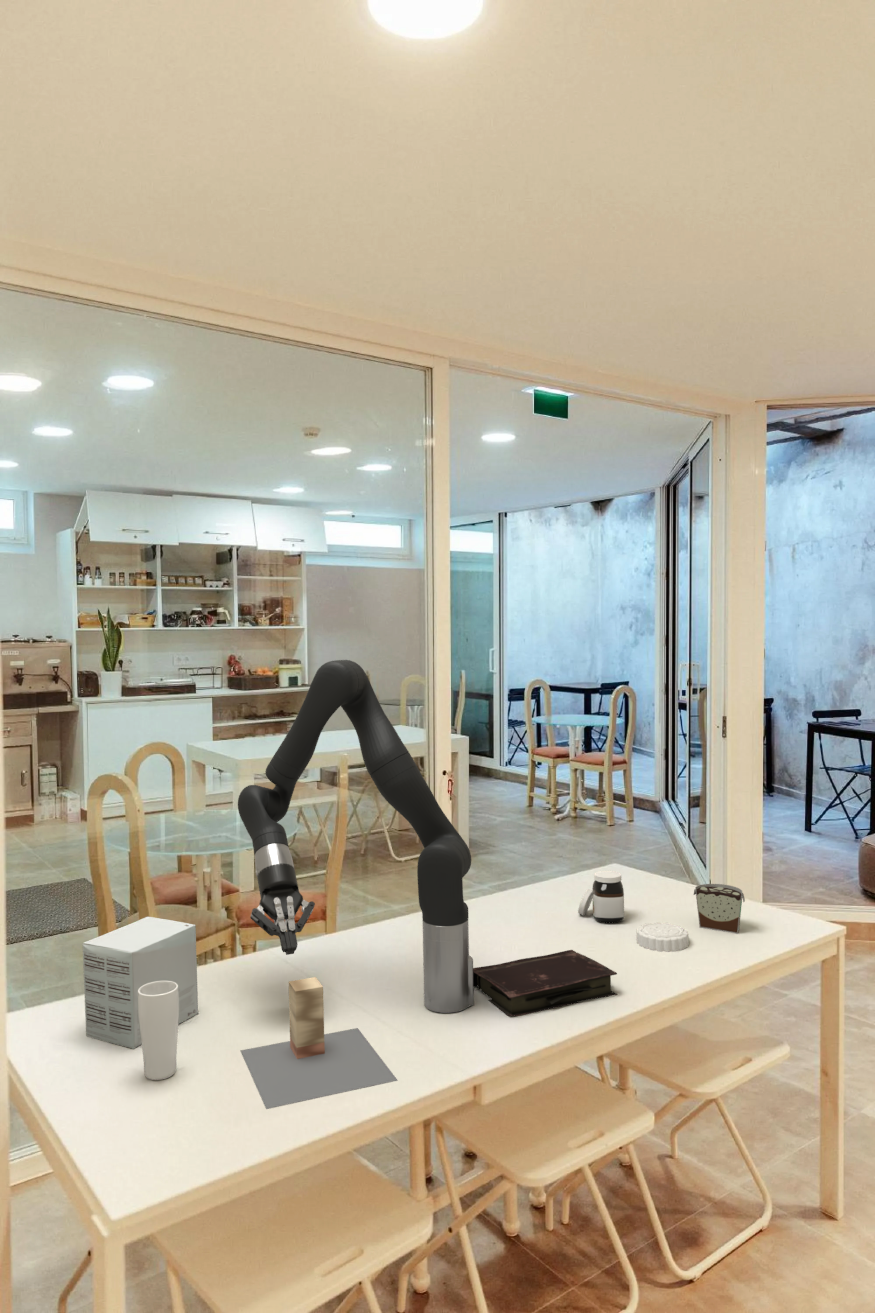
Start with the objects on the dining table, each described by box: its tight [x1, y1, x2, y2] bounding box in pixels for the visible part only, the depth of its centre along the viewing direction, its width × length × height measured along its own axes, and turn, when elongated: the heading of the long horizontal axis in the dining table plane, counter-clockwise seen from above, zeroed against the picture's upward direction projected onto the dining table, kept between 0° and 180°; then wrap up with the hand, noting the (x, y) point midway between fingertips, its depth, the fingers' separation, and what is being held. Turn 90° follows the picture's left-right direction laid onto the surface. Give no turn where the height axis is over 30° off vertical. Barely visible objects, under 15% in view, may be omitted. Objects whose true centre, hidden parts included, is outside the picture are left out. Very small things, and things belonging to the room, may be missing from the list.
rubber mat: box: [240, 1027, 398, 1110], centre depth 160 cm, size 22×22×1 cm
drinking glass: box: [138, 981, 179, 1081], centre depth 159 cm, size 7×7×15 cm
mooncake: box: [635, 922, 689, 953], centre depth 219 cm, size 12×12×4 cm
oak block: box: [288, 976, 325, 1059], centre depth 166 cm, size 5×5×12 cm
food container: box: [693, 883, 746, 934], centre depth 229 cm, size 12×6×10 cm, turn 58°
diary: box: [473, 949, 618, 1017], centre depth 192 cm, size 19×25×5 cm
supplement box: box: [82, 916, 199, 1050], centre depth 179 cm, size 17×13×18 cm
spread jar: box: [577, 870, 625, 924], centre depth 238 cm, size 12×11×12 cm
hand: (290, 952), depth 175 cm, fingers closed
